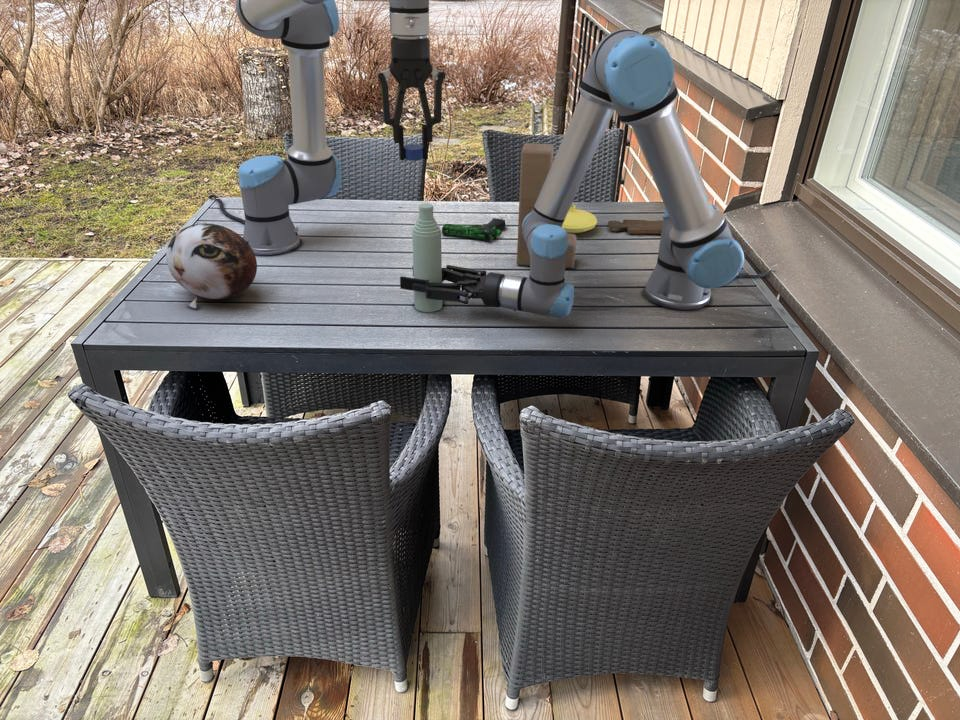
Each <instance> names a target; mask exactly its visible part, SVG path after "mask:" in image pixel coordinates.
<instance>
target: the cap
mask: <svg viewBox="0 0 960 720" xmlns="http://www.w3.org/2000/svg"><path fill="white" fill-rule="evenodd" d="M404 160H406V161H412V162H413V161H421V160H424V147H423V146H422V144H411V143H410V144H404Z"/></svg>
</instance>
